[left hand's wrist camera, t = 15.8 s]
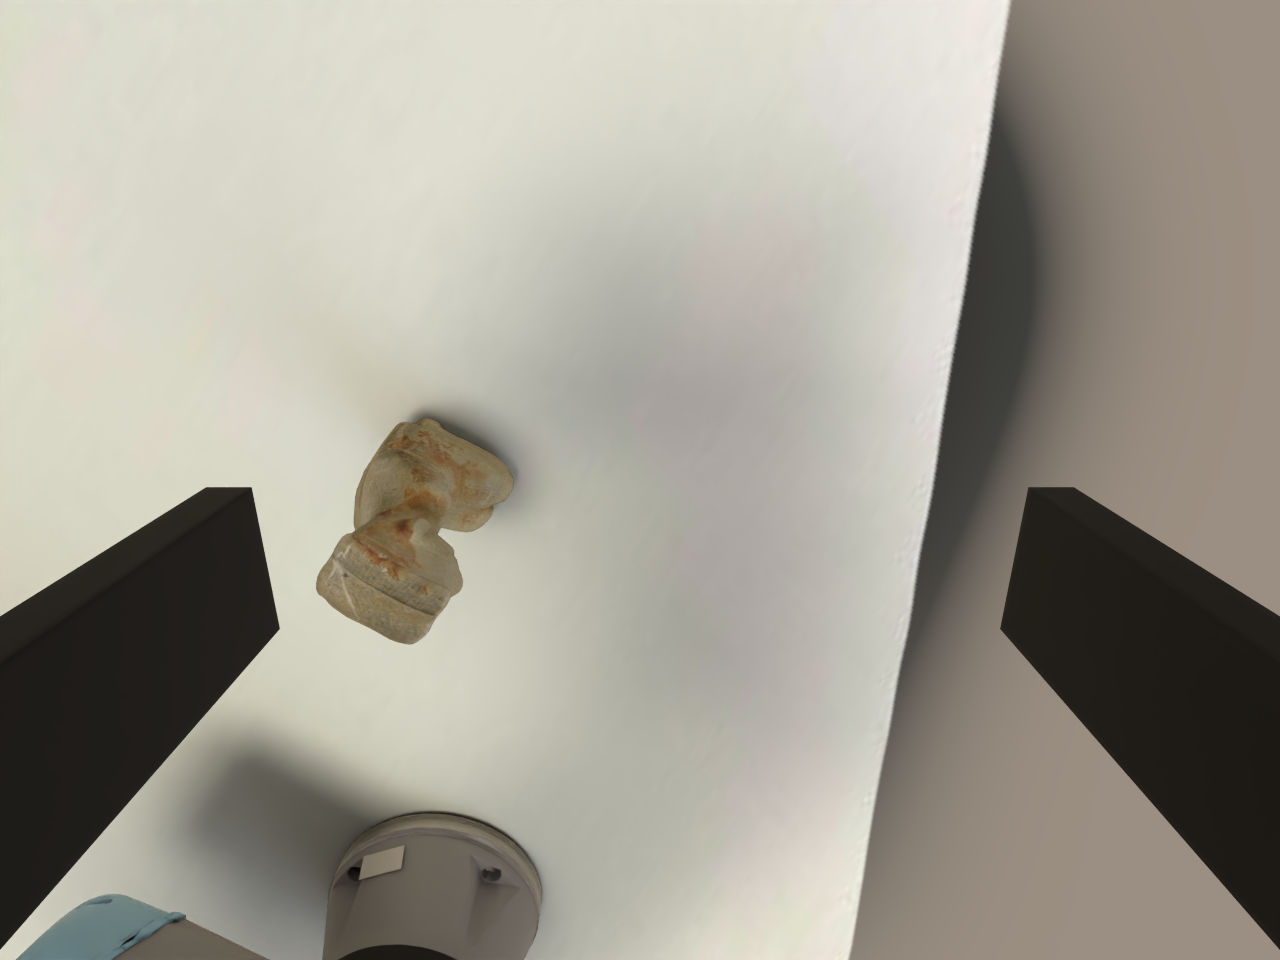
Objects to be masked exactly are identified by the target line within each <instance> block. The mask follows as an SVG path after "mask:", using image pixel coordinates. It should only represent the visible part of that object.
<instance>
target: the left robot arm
mask: <svg viewBox="0 0 1280 960" xmlns="http://www.w3.org/2000/svg"><path fill="white" fill-rule="evenodd" d="M279 629H280V628H279V623H278V618H277V613H276V608H275V603H274V597H273V592H272V587H271V582H270V577H269V572H268V567H267V562H266V557H265V552H264V547H263V542H262V537H261V532H260V527H259V522H258V517H257V512H256V507H255V502H254V497H253V492H252V487H206V488H204V489H203V490H201V491H200V492H198V493H196V494H195V495H193V496H192V497H190V498H188V499H187V500H185V501H184V502H182V503H180V504H179V505H177V506H176V507H174V508H172V509H171V510H169V511H168V512H166V513H165V514H163V515H161V516H160V517H158V518H157V519H155V520H153V521H152V522H150V523H149V524H147V525H145V526H144V527H142V528H141V529H139V530H137V531H136V532H134V533H133V534H131V535H129V536H128V537H126V538H125V539H123V540H121V541H120V542H118V543H117V544H115V545H113V546H112V547H110V548H109V549H107V550H105V551H104V552H102V553H101V554H99V555H97V556H96V557H94V558H93V559H91V560H90V561H88V562H86V563H85V564H83V565H82V566H80V567H78V568H77V569H75V570H74V571H72V572H70V573H69V574H67V575H66V576H64V577H62V578H61V579H59V580H58V581H56V582H54V583H53V584H51V585H50V586H48V587H46V588H45V589H43V590H42V591H40V592H38V593H37V594H35V595H34V596H32V597H30V598H29V599H27V600H26V601H24V602H22V603H21V604H19V605H18V606H16V607H14V608H13V609H11V610H10V611H8V612H7V613H5V614H3V615H2V616H0V949H1V948H2V947H3V946H4V945H5V944H6V942H7V941H8V940H9V939H10V938H11V937H12V936H13V934H14V933H15V932H16V931H17V930H18V929H19V927H20V926H21V925H22V924H23V923H24V922H25V921H26V919H27V918H28V917H29V916H30V915H31V914H32V913H33V911H34V910H35V909H36V908H37V907H38V906H39V905H40V903H41V902H42V901H43V900H44V899H45V898H46V897H47V895H48V894H49V893H50V892H51V891H52V890H53V888H54V887H55V886H56V885H57V884H58V883H59V882H60V880H61V879H62V878H63V877H64V876H65V875H66V874H67V872H68V871H69V870H70V869H71V868H72V867H73V866H74V864H75V863H76V862H77V861H78V860H79V859H80V858H81V856H82V855H83V854H84V853H85V852H86V851H87V849H88V848H89V847H90V846H91V845H92V844H93V843H94V841H95V840H96V839H97V838H98V837H99V836H100V835H101V833H102V832H103V831H104V830H105V829H106V828H107V827H108V825H109V824H110V823H111V822H112V821H113V820H114V819H115V817H116V816H117V815H118V814H119V813H120V812H121V810H122V809H123V808H124V807H125V806H126V805H127V804H128V802H129V801H130V800H131V799H132V798H133V797H134V796H135V794H136V793H137V792H138V791H139V790H140V789H141V788H142V786H143V785H144V784H145V783H146V782H147V781H148V779H149V778H150V777H151V776H152V775H153V774H154V773H155V771H156V770H157V769H158V768H159V767H160V766H161V765H162V763H163V762H164V761H165V760H166V759H167V758H168V757H169V755H170V754H171V753H172V752H173V751H174V750H175V749H176V747H177V746H178V745H179V744H180V743H181V742H182V740H183V739H184V738H185V737H186V736H187V735H188V734H189V732H190V731H191V730H192V729H193V728H194V727H195V726H196V724H197V723H198V722H199V721H200V720H201V719H202V718H203V716H204V715H205V714H206V713H207V712H208V711H209V710H210V708H211V707H212V706H213V705H214V704H215V703H216V701H217V700H218V699H219V698H220V697H221V696H222V695H223V693H224V692H225V691H226V690H227V689H228V688H229V687H230V685H231V684H232V683H233V682H234V681H235V680H236V679H237V677H238V676H239V675H240V674H241V673H242V672H243V670H244V669H245V668H246V667H247V666H248V665H249V664H250V662H251V661H252V660H253V659H254V658H255V657H256V656H257V654H258V653H259V652H260V651H261V650H262V649H263V648H264V646H265V645H266V644H267V643H268V642H269V641H270V640H271V638H272V637H273V636H274V635H275V634H276V633H277V631H278V630H279ZM1000 629H1001V630H1002V631H1003V633H1004V634H1005V635H1006V636H1007V637H1008V638H1009V639H1010V641H1011V642H1012V643H1013V644H1014V645H1015V646H1016V648H1017V649H1018V650H1019V651H1020V652H1021V653H1022V654H1023V656H1024V657H1025V658H1026V659H1027V660H1028V661H1029V662H1030V664H1031V665H1032V666H1033V667H1034V668H1035V669H1036V671H1037V672H1038V673H1039V674H1040V675H1041V676H1042V677H1043V679H1044V680H1045V681H1046V682H1047V683H1048V684H1049V685H1050V687H1051V688H1052V689H1053V690H1054V691H1055V692H1056V693H1057V695H1058V696H1059V697H1060V698H1061V699H1062V700H1063V701H1064V703H1065V704H1066V705H1067V706H1068V707H1069V708H1070V710H1071V711H1072V712H1073V713H1074V714H1075V715H1076V716H1077V718H1078V719H1079V720H1080V721H1081V722H1082V723H1083V724H1084V725H1085V727H1086V728H1087V729H1088V730H1089V731H1090V732H1091V734H1092V735H1093V736H1094V737H1095V738H1096V739H1097V740H1098V742H1099V743H1100V744H1101V745H1102V746H1103V747H1104V749H1105V750H1106V751H1107V752H1108V753H1109V754H1110V755H1111V757H1112V758H1113V759H1114V760H1115V761H1116V762H1117V763H1118V765H1119V766H1120V767H1121V768H1122V769H1123V770H1124V771H1125V773H1126V774H1127V775H1128V776H1129V777H1130V778H1131V779H1132V781H1133V782H1134V783H1135V784H1136V785H1137V786H1138V788H1139V789H1140V790H1141V791H1142V792H1143V793H1144V794H1145V796H1146V797H1147V798H1148V799H1149V800H1150V801H1151V802H1152V804H1153V805H1154V806H1155V807H1156V808H1157V809H1158V810H1159V812H1160V813H1161V814H1162V815H1163V816H1164V817H1165V818H1166V820H1167V821H1168V822H1169V823H1170V824H1171V825H1172V827H1173V828H1174V829H1175V830H1176V831H1177V832H1178V833H1179V835H1180V836H1181V837H1182V838H1183V839H1184V840H1185V841H1186V843H1187V844H1188V845H1189V846H1190V847H1191V848H1192V849H1193V851H1194V852H1195V853H1196V854H1197V855H1198V856H1199V858H1200V859H1201V860H1202V861H1203V862H1204V863H1205V864H1206V866H1207V867H1208V868H1209V869H1210V870H1211V871H1212V872H1213V874H1214V875H1215V876H1216V877H1217V878H1218V879H1219V880H1220V882H1221V883H1222V884H1223V885H1224V886H1225V887H1226V888H1227V890H1228V891H1229V892H1230V893H1231V894H1232V895H1233V897H1234V898H1235V899H1236V900H1237V901H1238V902H1239V903H1240V905H1241V906H1242V907H1243V908H1244V909H1245V910H1246V911H1247V913H1248V914H1249V915H1250V916H1251V917H1252V918H1253V919H1254V921H1255V922H1256V923H1257V924H1258V925H1259V926H1260V927H1261V929H1262V930H1263V931H1264V932H1265V933H1266V934H1267V936H1268V937H1269V938H1270V939H1271V940H1272V941H1273V942H1274V943H1275V945H1276V946H1277V947H1278V948H1279V949H1280V616H1278V615H1277V614H1275V613H1273V612H1272V611H1270V610H1269V609H1267V608H1265V607H1264V606H1262V605H1261V604H1259V603H1257V602H1256V601H1254V600H1253V599H1251V598H1250V597H1248V596H1246V595H1245V594H1243V593H1242V592H1240V591H1238V590H1237V589H1235V588H1234V587H1232V586H1230V585H1229V584H1227V583H1226V582H1224V581H1222V580H1221V579H1219V578H1218V577H1216V576H1214V575H1213V574H1211V573H1210V572H1208V571H1206V570H1205V569H1203V568H1202V567H1200V566H1198V565H1197V564H1195V563H1194V562H1192V561H1190V560H1189V559H1187V558H1186V557H1184V556H1183V555H1181V554H1179V553H1178V552H1176V551H1175V550H1173V549H1171V548H1170V547H1168V546H1167V545H1165V544H1163V543H1162V542H1160V541H1159V540H1157V539H1155V538H1154V537H1152V536H1151V535H1149V534H1147V533H1146V532H1144V531H1143V530H1141V529H1139V528H1138V527H1136V526H1135V525H1133V524H1131V523H1130V522H1128V521H1127V520H1125V519H1123V518H1122V517H1120V516H1119V515H1117V514H1115V513H1114V512H1112V511H1111V510H1109V509H1107V508H1106V507H1104V506H1103V505H1101V504H1099V503H1098V502H1096V501H1095V500H1093V499H1092V498H1090V497H1088V496H1087V495H1085V494H1084V493H1082V492H1080V491H1079V490H1077V489H1076V488H1074V487H1029V488H1028V492H1027V497H1026V502H1025V507H1024V512H1023V517H1022V522H1021V527H1020V532H1019V537H1018V543H1017V547H1016V552H1015V557H1014V563H1013V567H1012V573H1011V577H1010V582H1009V587H1008V592H1007V598H1006V602H1005V608H1004V613H1003V618H1002V623H1001V628H1000ZM541 901H542V891H541V884H540V881H539V877H538V875H537V872H536V870H535V868H534V866H533V864H532V863H531V861H530V860H529V858H528V857H527V856H526V854H525V853H524V852H523V851H522V850H521V849H520V848H519V847H518V846H517V845H516V844H515V843H514V842H512V841H511V840H510V839H509V838H507V837H506V836H504V835H503V834H501V833H500V832H498V831H496V830H494V829H492V828H491V827H488V826H486V825H484V824H482V823H479V822H476V821H473V820H470V819H466V818H463V817H458V816H453V815H445V814H414V815H407V816H402V817H398V818H395V819H391V820H388V821H386V822H383V823H381V824H379V825H377V826H375V827H373V828H371V829H369V830H368V831H366V832H365V833H364V834H362V835H361V836H360V837H359V838H358V839H357V840H356V841H355V842H354V843H353V844H352V845H351V846H350V847H349V849H348V850H347V852H346V853H345V855H344V857H343V859H342V861H341V863H340V865H339V867H338V870H337V872H336V874H335V876H334V878H333V881H332V883H331V886H330V889H329V894H328V906H327V917H326V927H325V938H324V949H323V960H524V958H525V956H526V954H527V952H528V950H529V948H530V946H531V945H532V943H533V941H534V938H535V936H536V933H537V929H538V922H539V915H540V908H541ZM16 960H269V959H267V958H264V957H262V956H260V955H258V954H256V953H254V952H252V951H250V950H248V949H246V948H244V947H242V946H240V945H238V944H236V943H234V942H232V941H229V940H227V939H225V938H223V937H221V936H219V935H217V934H215V933H213V932H211V931H209V930H207V929H205V928H203V927H201V926H199V925H197V924H195V923H192V922H190V921H188V920H186V915H184V914H182V913H179V912H172V913H167V912H165V911H162V910H160V909H157V908H155V907H152V906H150V905H148V904H145V903H143V902H140V901H138V900H135V899H133V898H130V897H128V896H124V895H119V894H108V895H103V896H99V897H96V898H93V899H91V900H88V901H86V902H84V903H83V904H81V905H79V906H78V907H76V908H75V909H73V910H72V911H71V912H69V913H68V914H66V915H65V916H64V917H62V918H61V919H60V920H59V921H58V922H56V923H55V924H54V925H53V926H52V927H51V928H49V929H48V930H47V931H46V932H45V933H44V934H43V935H42V936H41V937H39V938H38V939H37V940H36V941H35V942H34V943H33V944H32V945H31V946H30V947H29V948H28V949H27V950H26V951H24V952H23V953H22V954H21V955H20V956H19V957H18V958H17V959H16Z"/></svg>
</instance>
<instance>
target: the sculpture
mask: <svg viewBox="0 0 1280 960" xmlns="http://www.w3.org/2000/svg"><path fill="white" fill-rule="evenodd" d="M512 488H513V477H512V474H511V472H510V471H509V469H508V468H507V466H506V465H505V464H504V463H503V462H502V461H501V460H500V459H498V458H497V457H496V456H494V455H493V454H491V453H489V452H487V451H486V450H484V449H482V448H480V447H478V446H476V445H474V444H472V443H470V442H468V441H466V440H464V439H461V438H459V437H457V436H455V435H453V434H451V433H449V432H447V431H445V430H444V429H442V426H441V425H440V424H439V423H438V422H436V421H434V420H431V419H428V418H424V419H422V420H420V421H419V422H417V423H416V424H412V423H407V422H403V423H399V424H398V425H397V426H396V427H395V428H394V429H393V430H392V432H391V433H390V434H389V435H388V436H387V438H386V439H385V440H384V442H383V443H382V445H381V446H380V448H379V449H378V451H377V452H376V454H375V455H374V457H373V458H372V460H371V462H370V463H369V465H368V466H367V468H366V469H365V471H364V473H363V476H362V478H361V481H360V483H359V486H358V488H357V492H356V496H355V509H354V527H355V531H354V532H353V533H349V534H346V535H345V536H343V537H342V538H341V539H340V541H339V542H338V544H337V546H336V547H335V549H334V552H333V553H332V555H331V557H330V558H329V560H328V561H327V563H326V564H325V565H324V566H323V568H322V569H321V571H320V573H319V575H318V577H317V582H316V590H317V592H318V594H319V595H320V596H322V597H323V598H324V599H326V601H327V602H328V603H329V604H330V605H331V606H332V607H333V608H335V609H336V610H338V611H339V612H341V613H342V614H343V615H345V616H346V617H348V618H350V619H352V620H354V621H356V622H358V623H360V624H362V625H364V626H366V627H369V628H371V629H372V630H374V631H376V632H378V633H380V634H381V635H383V636H385V637H387V638H389V639H390V640H393V641H396V642H399V643H403V644H414V643H416V642H417V641H419V640H420V639H422V638H423V637H424V636H425V635H426V634H427V633H428V632H429V630H430V628H431V626H432V624H433V622H434V621H435V619H436V617H437V616H438V615H439V614H440V613H441V612H442V610H443V609H444V608H445V607H446V605H447V603H448V602H449V600H450V598H451V597H452V596H453V595H455V594H457V593H458V592H459V591H460V590H461V588H462V586H463V579H462V575H461V573H460V570H459V566H458V562H457V559H456V558H455V556H454V550H453V548H452V547H451V546H450V545H449V544H448V543H447V542H446V541H444V540H443V539H442V538H441V537H440V536H438V535H437V534H438V532H439V531H440V529H441V528H445V529H449V530H454V531H460V532H470V531H474V530H476V529H478V528H480V527H481V526H482V525H484V524H485V523H486V522H487V521H488V520H489V519H490V517H491V515H492V512H493V510H494V508H493V504H495V503H499V502H503V501H504V500H505V499H506V498H507V497H508V495H509V494H510V493H511V491H512Z"/></svg>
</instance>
